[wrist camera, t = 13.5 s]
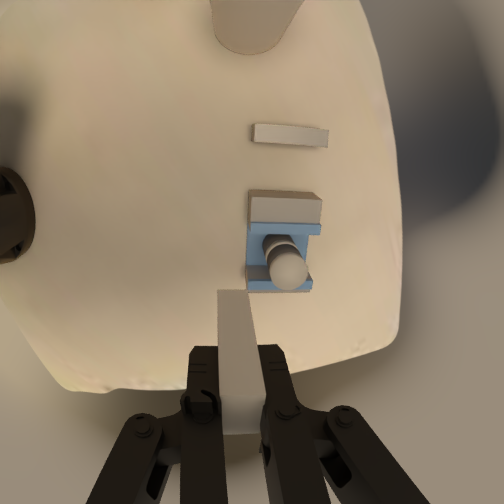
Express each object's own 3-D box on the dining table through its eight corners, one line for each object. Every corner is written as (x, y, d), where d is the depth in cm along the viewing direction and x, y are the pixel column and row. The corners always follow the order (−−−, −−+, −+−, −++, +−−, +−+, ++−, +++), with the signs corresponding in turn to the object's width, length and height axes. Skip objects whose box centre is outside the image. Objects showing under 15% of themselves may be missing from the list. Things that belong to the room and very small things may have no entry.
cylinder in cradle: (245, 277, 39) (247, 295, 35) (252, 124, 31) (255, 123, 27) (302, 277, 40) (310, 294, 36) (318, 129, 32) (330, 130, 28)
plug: (261, 258, 38) (269, 290, 30) (263, 229, 36) (272, 256, 29) (291, 258, 38) (305, 289, 31) (294, 230, 37) (310, 256, 29)
